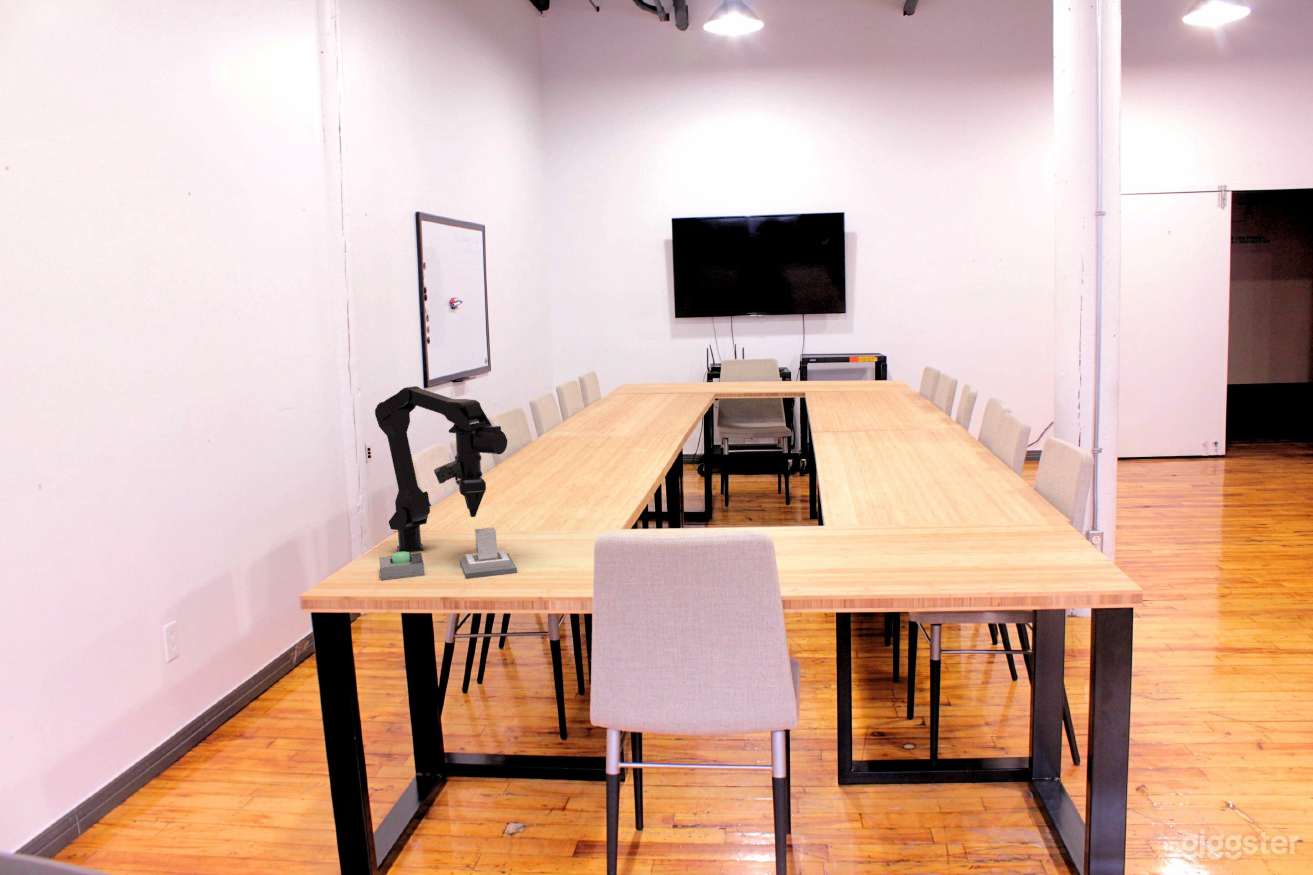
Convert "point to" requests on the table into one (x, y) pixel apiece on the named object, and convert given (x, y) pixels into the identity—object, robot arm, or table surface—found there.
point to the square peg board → (401, 567)
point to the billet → (486, 544)
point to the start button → (400, 557)
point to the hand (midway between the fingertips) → (471, 512)
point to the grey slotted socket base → (487, 565)
